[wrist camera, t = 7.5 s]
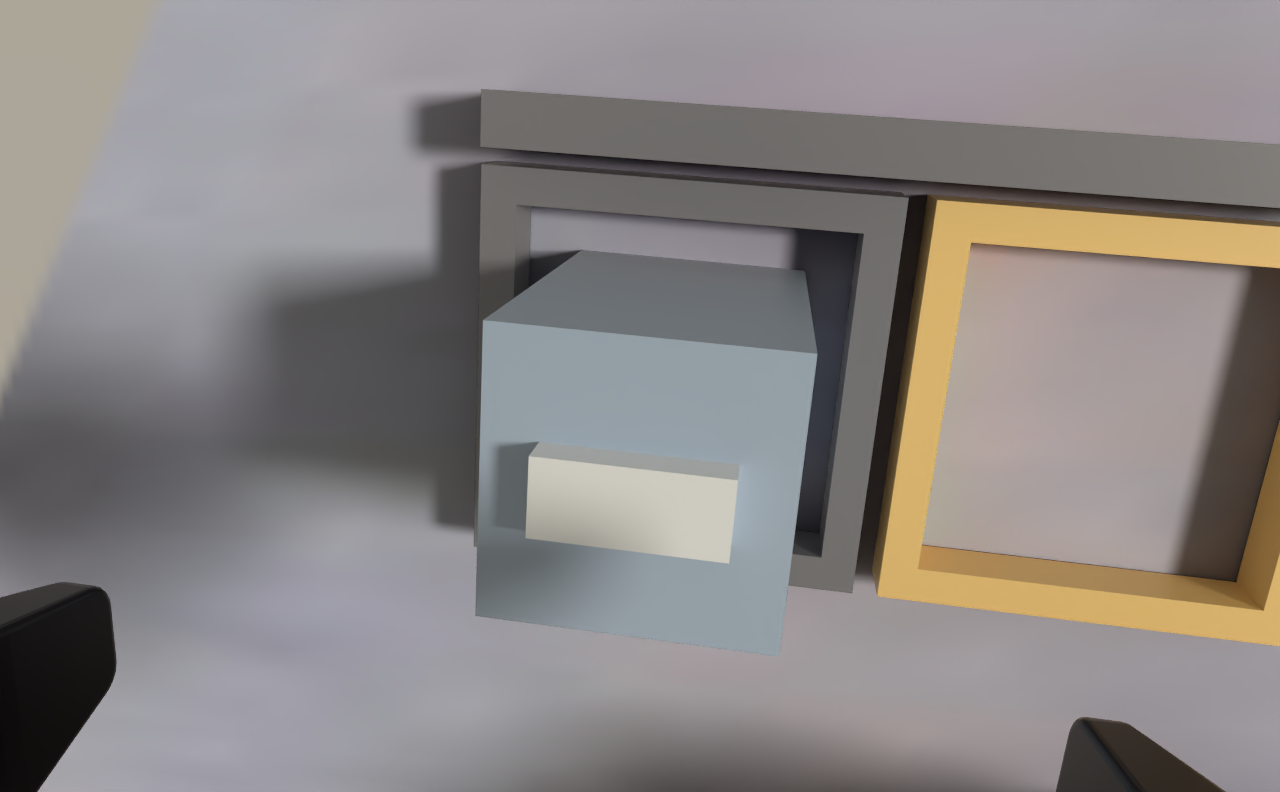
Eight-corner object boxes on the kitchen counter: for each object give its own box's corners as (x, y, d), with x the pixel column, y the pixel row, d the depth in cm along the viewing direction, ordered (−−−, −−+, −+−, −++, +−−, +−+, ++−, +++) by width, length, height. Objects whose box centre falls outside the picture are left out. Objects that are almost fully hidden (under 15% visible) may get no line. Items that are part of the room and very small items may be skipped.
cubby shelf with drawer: (1264, 617, 20) (1308, 664, 18) (489, 523, 22) (464, 558, 20) (1394, 152, 17) (1460, 157, 16) (500, 90, 19) (473, 88, 18)
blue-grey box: (779, 481, 21) (779, 679, 14) (570, 457, 21) (462, 636, 14) (805, 270, 20) (819, 364, 12) (581, 249, 20) (469, 329, 13)
